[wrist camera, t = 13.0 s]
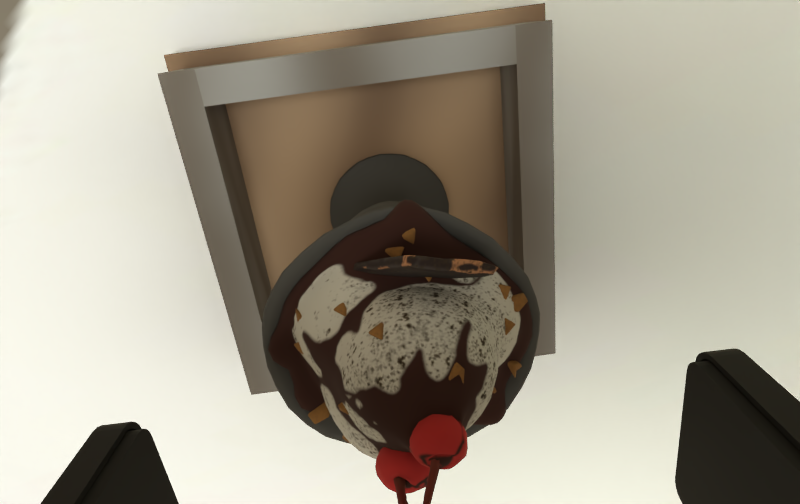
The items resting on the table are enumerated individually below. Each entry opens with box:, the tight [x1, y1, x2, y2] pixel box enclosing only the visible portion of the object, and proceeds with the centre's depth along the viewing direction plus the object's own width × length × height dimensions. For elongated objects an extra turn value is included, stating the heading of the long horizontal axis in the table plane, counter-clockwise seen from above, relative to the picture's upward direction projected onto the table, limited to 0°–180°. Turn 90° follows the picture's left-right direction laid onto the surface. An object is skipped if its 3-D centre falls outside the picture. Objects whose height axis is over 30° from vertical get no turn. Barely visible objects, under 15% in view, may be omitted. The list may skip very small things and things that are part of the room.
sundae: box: [262, 154, 540, 504], centre depth 15 cm, size 7×7×15 cm
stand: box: [158, 3, 555, 395], centre depth 21 cm, size 14×14×4 cm
